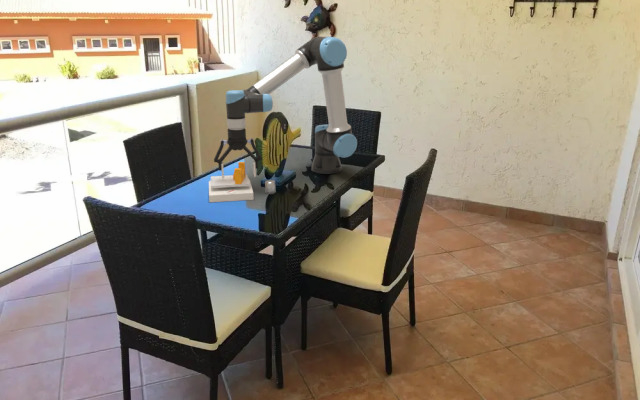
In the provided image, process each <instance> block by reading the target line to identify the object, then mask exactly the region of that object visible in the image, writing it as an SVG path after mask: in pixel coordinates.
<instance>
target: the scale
mask: <svg viewBox="0 0 640 400" xmlns="http://www.w3.org/2000/svg"><path fill="white" fill-rule="evenodd" d="M208 198H209V203H221V202H223V203H224V202H236V201H237V202H238V201H253V200H254V190H253V187H252V183H251V180H250V178H249V176H248V174H246V176H245V178H244V180H243V182H242V184H235V180H233V174H231V175H224V178H222V175H212V176H210V180H208Z"/></svg>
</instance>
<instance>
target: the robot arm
mask: <svg viewBox="0 0 640 400" xmlns="http://www.w3.org/2000/svg"><path fill="white" fill-rule="evenodd" d="M347 56H348V50H347V46H346V44H345V43H344V42H343V41H342V40H341V39H340V38H338V37H335V36H316V37H313V38H311V39H309V40H308V41H307V42H305V43H304V44H303V45H301V46H300V47H298V48H297V49H296V50H295V51H294V54H293V55H292V56H291V57H289V58H287V60H285V61H283V62H282V63H281V64H280V65H278V66H277V67H275V68H274V69H273V70H271V71H270V72H269V73H267V74H266V75H265V76H264V77H262V78H261V79H259V80H258V81H256V82H255V83H254V84H253V85H251V86H250V87H248V88H247V89H243V90H240V89H239V90H238V89H232V90H228V91H226V93H225V109H226V126H227V139H226V140H225V139H220V145H219V147H218V149H217V152H216V154H215V156H214V158H213V162H214V163H217V164H218V171H220V172H221V176H222V178H224V176H225V172H224V171H225V170H224V162H223V161H224V160H225V158H226V157H227V156H228V155H229V154H230V152H231V151H242V150H243V151H245V152H246V153H247V154H248V155H249V156H250V158H252V159H253V160H252V166H253V167H252V168H253V171H252V172H253V173H252V174H253V177H254V178H255V177H257V172H256V170H257V169H259V162H260V161H261V160H263V157H262V156H261V154H260V152H259V150H258V148H257V146H256V145H255V142H254V138H252V137H251V138H250V139H247V132H246V131H247V130H246V114H252V113H253V114H254V113H255V114H256V113H267V112H271V111H272V109H273V107H274V105H273V104H274V102H273V97H272V95H271V94H272V93H273V92H275V91H276V90H277V89H279V88H280V87H281V86H283V85H284V84H286V83H287V82H288V81H290V79H292V78H294V77H295V76H296V75H297V74H299V73H300V72H302V71H303V70H304V69H309V68H310V67H312V66H314V65H317V70H318V71H317V72H319V73H320V74H321V76H322V83H323V91H324V98H325V105H326V113H327V114H326V115H327V119H328V120H327V121H328V124H319V125H316V126H315V128H314V150H315V151H314V157H313V160H312V163H311V171H312V172H314V173H316V174H321V175H322V174H323V175H331V174H337V173H340V172H342V163H341V160H340V158H349V157H351V156H352V155H353V154H354V152H355V151H356V150H357V147H358V139H357V138H356V136H355V135H354V134H353V132H352V130H353V129H352V125H351V124H349V123H348V119H347V108H346V101H345V93H344V86H343V84H344V83H343V75H342V71H343V70H344V68H345V65H344V62H345V61H346V59H347ZM226 144H227V145H228V147H227V149H226V150H225V151H224V153H223V154H222V155H221V153H222V151H223V149H224V147H225V146H226ZM247 144H249V145H250V146H251V148H252V149H253V150H254V152H255V154H256V155H254V153H253V152H252V151H251V150H250V149H249V148H248V147H247ZM220 155H221V156H220ZM256 156H257V157H256Z"/></svg>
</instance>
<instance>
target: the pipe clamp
mask: <svg viewBox="0 0 640 400" xmlns="http://www.w3.org/2000/svg"><path fill="white" fill-rule="evenodd" d="M232 175H233V180H235V184H242V182H243V180H244V178H245V176H246V162H245V161H239V162H238V168H237V167H234V172H233V174H232Z"/></svg>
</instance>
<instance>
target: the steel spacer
mask: <svg viewBox="0 0 640 400" xmlns="http://www.w3.org/2000/svg"><path fill="white" fill-rule="evenodd" d="M264 191H265V192H264V193H265V194H266V195H274V194H276V181H275V180H273V179H269V180H265V181H264Z"/></svg>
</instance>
